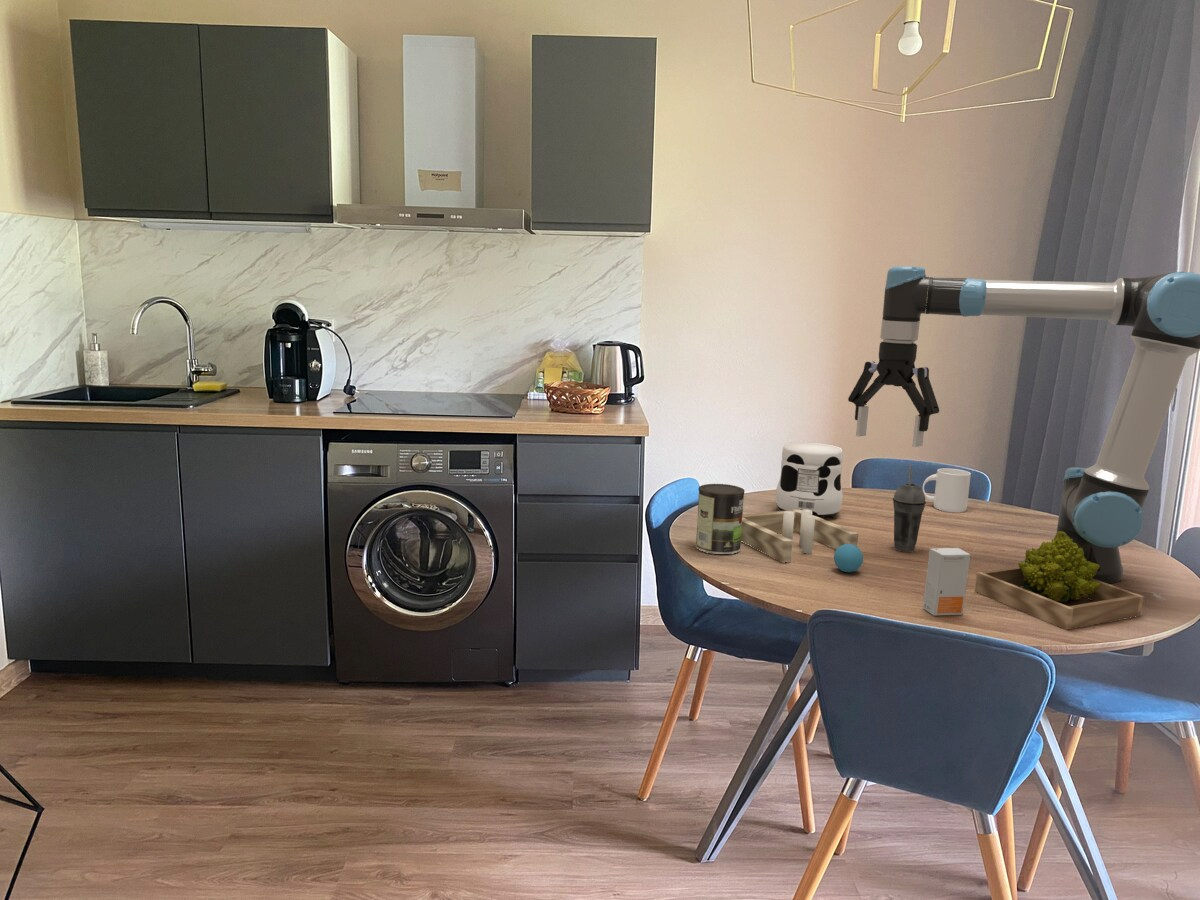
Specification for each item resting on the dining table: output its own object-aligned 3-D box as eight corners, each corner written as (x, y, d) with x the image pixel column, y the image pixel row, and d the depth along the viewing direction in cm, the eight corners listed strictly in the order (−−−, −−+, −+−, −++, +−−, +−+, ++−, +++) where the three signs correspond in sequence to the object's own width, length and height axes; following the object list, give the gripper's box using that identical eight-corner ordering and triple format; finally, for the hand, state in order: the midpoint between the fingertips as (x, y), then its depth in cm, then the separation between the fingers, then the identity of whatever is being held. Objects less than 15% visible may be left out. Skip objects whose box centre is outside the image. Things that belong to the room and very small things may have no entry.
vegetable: (1006, 586, 168) (1037, 517, 170) (1001, 599, 182) (1030, 534, 184) (1089, 621, 161) (1120, 548, 163) (1077, 631, 175) (1106, 564, 177)
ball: (867, 574, 185) (870, 547, 183) (845, 577, 182) (847, 550, 181) (849, 565, 190) (851, 539, 189) (826, 568, 188) (829, 541, 186)
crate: (1140, 616, 165) (1143, 596, 165) (1066, 630, 157) (1069, 609, 157) (1045, 580, 184) (1047, 562, 184) (974, 591, 176) (977, 572, 176)
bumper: (856, 554, 198) (858, 533, 197) (783, 563, 190) (784, 541, 189) (797, 528, 218) (799, 509, 217) (729, 535, 210) (730, 515, 209)
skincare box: (934, 616, 162) (941, 554, 160) (922, 608, 166) (928, 547, 164) (964, 615, 163) (971, 554, 161) (951, 607, 167) (958, 547, 165)
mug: (922, 502, 250) (926, 465, 248) (968, 508, 245) (972, 470, 243) (918, 508, 243) (922, 470, 241) (964, 514, 237) (969, 476, 235)
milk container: (816, 503, 244) (821, 440, 241) (854, 519, 228) (860, 452, 225) (762, 507, 238) (766, 442, 235) (797, 524, 222) (803, 454, 219)
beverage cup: (926, 549, 204) (935, 465, 200) (912, 555, 199) (921, 469, 195) (896, 542, 209) (904, 460, 205) (882, 548, 204) (890, 464, 200)
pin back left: (793, 549, 201) (796, 513, 199) (785, 550, 200) (787, 514, 198) (787, 546, 203) (790, 510, 201) (779, 547, 202) (781, 511, 200)
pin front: (814, 553, 198) (817, 517, 196) (805, 554, 197) (808, 518, 195) (807, 550, 200) (810, 514, 199) (799, 551, 199) (802, 515, 198)
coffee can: (747, 546, 201) (751, 487, 199) (731, 558, 193) (734, 496, 190) (705, 539, 206) (709, 481, 204) (688, 550, 197) (691, 489, 195)
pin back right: (811, 547, 203) (814, 511, 201) (803, 548, 202) (805, 512, 200) (805, 544, 205) (808, 509, 203) (796, 545, 204) (799, 509, 202)
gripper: (964, 346, 177) (952, 449, 181) (857, 336, 195) (848, 430, 199) (945, 346, 172) (933, 452, 176) (837, 337, 190) (829, 433, 194)
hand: (888, 441), depth 188 cm, fingers open, 13 cm apart
